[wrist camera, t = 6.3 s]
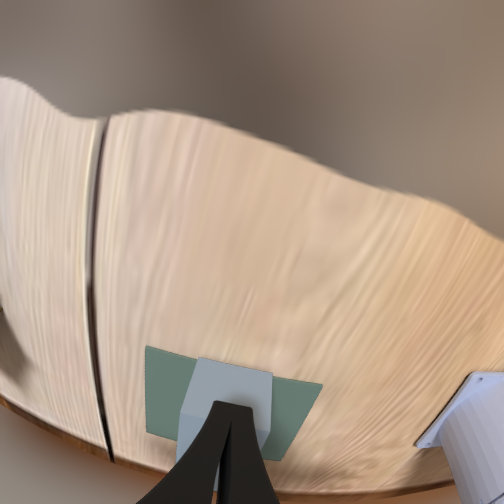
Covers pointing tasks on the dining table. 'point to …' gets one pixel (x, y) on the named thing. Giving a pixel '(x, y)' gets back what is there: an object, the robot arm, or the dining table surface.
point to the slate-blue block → (224, 399)
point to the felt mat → (176, 385)
